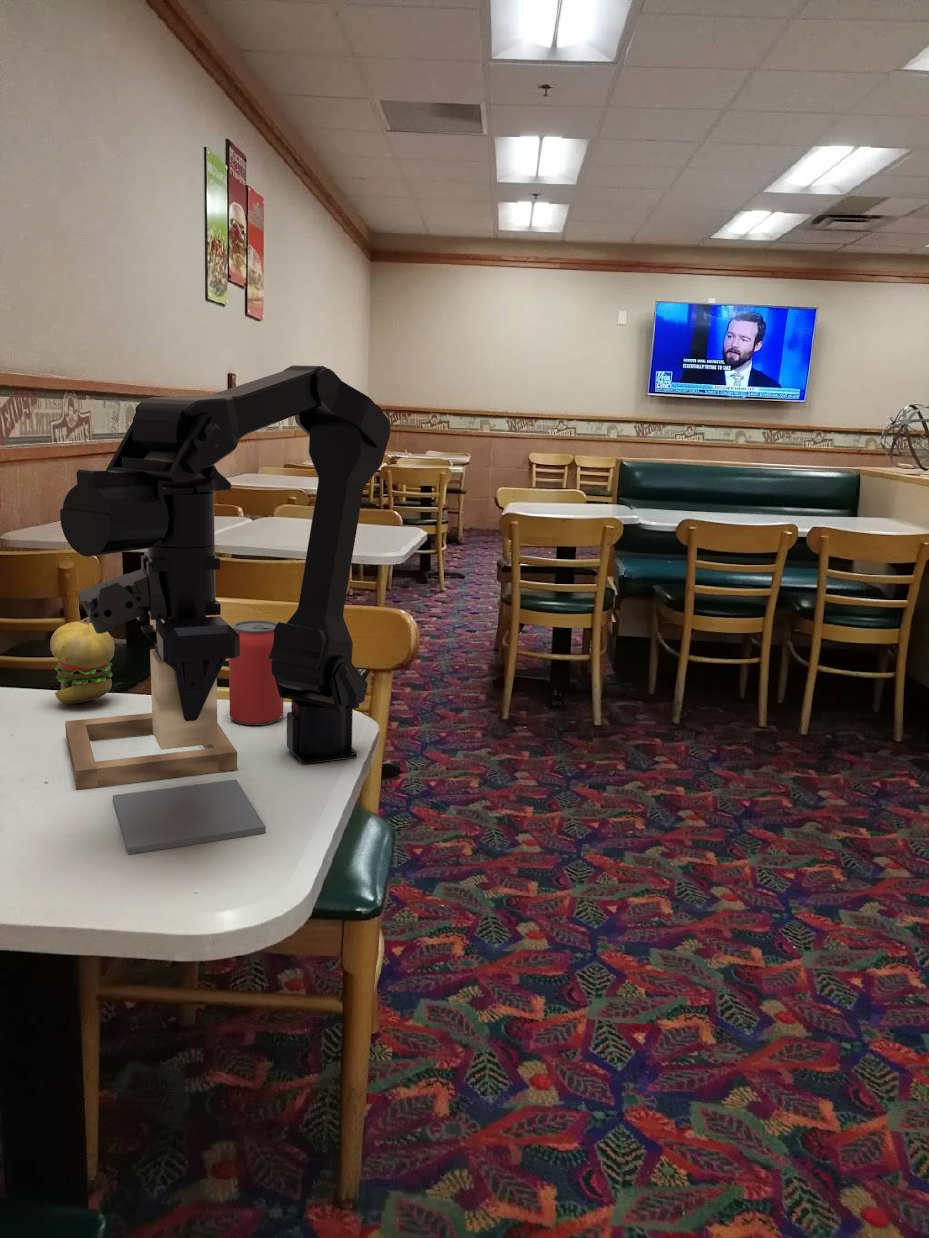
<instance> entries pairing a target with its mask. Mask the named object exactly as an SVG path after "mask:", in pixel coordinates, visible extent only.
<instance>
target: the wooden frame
mask: <svg viewBox="0 0 929 1238" xmlns="http://www.w3.org/2000/svg"><path fill="white" fill-rule="evenodd" d="M218 722H219V721H217V731H218V743H217V744H208V745H202V746H203V748H202V749H193V750H184V751H183V750H182V751H176V752H166V753H159V754H150V755H140V756H131V757H124V758H123V757H122V758H116V759H115V758H114V759H107V760H105V759H104V760H98V761H96V758H95V756H94V752H93V748H92V744H91V742H94V741H102V740H112V739H121V738H131V737H140V736H149V735H154V734H153V724H152V712H148V713H146V712H145V713H137V714H136V713H135V714H125V715H116V716H115V715H114V716H106V717H105V716H104V717H95V718H93V717H92V718H86V719H82V718H81V719H73V720H65V721H64V723H65V724H64V725H65V738H66V745H67V749H68V756H69V761H70V764H71V769H72V775H73V779H74V785H75V789H76V790H77V791H78V790H85V789H94V788H101V787H109V786H117V785H125V784H134V783H142V782H148V781H149V782H151V781H157V780H164V779H165V780H166V779H172V778H173V779H175V778H182V777H189V776H198V775H204V774H212V773H220V772H221V773H222V772H228V771H229V772H230V771H237V770H238V751H237V750H236V748H235V747H234V745H233V744H232V742H231V740H230V739H229V738H228V736H227V734H226V733H225V732H224V730H223V727H221V725H220V724H219V723H218Z"/></svg>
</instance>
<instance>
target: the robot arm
mask: <svg viewBox="0 0 929 1238" xmlns="http://www.w3.org/2000/svg"><path fill="white" fill-rule="evenodd" d="M134 411H135V413H134V415H133V418H132V422H131V424H130V425H129V427H128V429H127V431H126V432H125V435H124V437H123V438H122V440H121V442H120V444H119V446H118V447H117V449H116V451H115V452H114V454H113V456H112V457H111V460H110V462H109V463H108V465H107V467H106V470H102V469H100V470H99V469H92V468H85V469H84V468H83V469H81V468H79V469H77V471H76V485H74V486H73V487H72V488H70V490H69V491H68V492H67V493H66V496H65V498H64V500H63V503H62V504H63V505H62V508H61V509H60V510H59V516H60V517H59V520H60V525H61V529H62V533H63V535H64V537H65V540H66V541H67V544H69V546H70V547H71V548H72V550H74V551H75V552H76V553H77V554H80V555H82V556H83V557H89V558H90V557H96V556H102V555H109V554H119V553H124V552H125V553H126V552H131V551H132V552H133V551H139V550H140V551H141V550H145V549H146V550H147V551H144V553H143V554H144V555H141V556H140V562H141V563H140V566H141V568H140V569H137V570H135V571H132V572H130V573H129V572H128V573H125V574H121V575H119V576H116V577H113V578H110V579H109V580H106V581H103V582H101V583H98V584H95V585H93V586H90V587H88V588H85V589H83V590H81V591H80V592H79V593H78V596H79V598H80V601H81V602H82V606H83V607H84V610H85V612H86V614H87V617H89V619H90V623H92V625H93V627H94V629H95V632H96V633H97V634H101V633H105V632H108V633H109V632H111V631H112V630H114V629H115V627H116V626H117V627H118V626H119V625H122V624H124V623H128V622H130V621H132V620H135V619H137V621H138V622H143V621H144V622H145V621H146V618H147V616H149V624H145V625H141V626H140V629H141V631H142V632H143V634H144V635H145V636H146V637H147V638H148V639H149V640H151V641H152V643H154V644H155V645H157V648H155V649H156V650H155V652H156V654H157V655H158V657H159V658H160V660H162V661H163V662H165V663H166V664H168V665H169V666H170V667H171V668H173V671H174V675H175V680H176V685H177V689H178V694H179V699H180V704H181V708H182V712H183V717H184V720H185V721H195V720H197V719H198V717H199V715H200V712H201V710H202V708H203V706H204V704H205V701H206V699H207V697H208V695H209V693H210V690H211V688H212V686H213V684H214V682H215V680H216V678H217V677H218V675H219V674H220V672H221V670H222V669H223V666H224V664H225V662H226V660H227V659H228V660H229V658H236V657H238V656H240V635H239V634H238V633H237V632H236V631H235V630H234V628H233V625H232V626H231V624H230V623H228V622H227V621H226V620H225V619H224V618H223V617H222V616H221V615H222V614H221V613H222V612H221V609H222V608H221V602H220V601H218V600H217V599H216V598H217V597H216V596H217V595H216V594H217V593H216V571H217V570H218V571H219V570H221V558H220V557H219V556H217V554H216V543H215V539H216V538H215V537H216V536H215V535H216V534H215V492H227V491H230V490H232V483H231V482H230V481H229V480H228V479H227V478H226V477H225V476H224V475H222V474H221V473H220V472H219V470H218V469H217V467H216V465H215V464H217V463H219V462H220V461H222V460H223V459H224V458H226V457H227V456H228V455H230V454H231V453H233V452H234V451H236V449H237V447H238V444H239V442H240V440H241V439H242V438H244V437H246V436H247V435H249V434H251V433H254V432H256V431H259V430H261V429H264V428H267V427H269V426H271V425H274V424H276V423H279V422H282V421H284V420H286V419H289V418H293V417H294V420H295V423H296V425H297V426H298V427H299V428H300V429H301V430H303V432H304V433H306V434H307V435H308V436H309V437H308V438H309V439H308V455H309V457H310V460H311V462H312V465H313V468H314V470H315V473H316V476H317V479H318V480H317V487H316V494H315V499H314V505H313V511H312V517H311V518H312V519H311V525H310V532H309V537H308V542H307V543H308V544H307V549H306V554H305V555H306V556H305V562H304V568H303V572H302V580H301V585H300V593H299V599H298V602H297V603H298V605H297V608H296V610H295V611H294V612H293V614H292V615H291V616H290V617H289V619H288V620H287V621H286V622H282V621H278V622H276V623H277V625H276V627H275V629H274V641H273V646H272V650H271V653H270V655H269V659H272V663H271V671H272V675H273V676H274V677H275V681H276V685H277V688H278V692H279V695H280V698H283V700H284V699H288V700H291V711H288V712H287V713H286V748H288V750H289V751H290V752H291V753H292V754H293V755H294V756H295V758H296V759H297V760H298V761H299V762H300V763H301V764H312V763H321V762H329V761H336V760H338V761H339V760H344V759H352V758H353V759H355V758H357V757H358V752H357V751H356V750H355V749H354V747H353V713H354V712H353V710H355V709H356V710H357V709H358V708H360V704H362V703H364V702H365V699H366V695H367V689H368V682H367V681H366V679H365V678H364V677H363V675H362V674H361V673H360V672H359V670H358V669H357V668H356V666H355V665H354V663H352V661H353V649H354V648H353V647H354V646H353V645H354V643H353V640H352V637H351V634H350V632H349V629H348V626H347V623H346V621H345V619H344V609H345V604H346V598H347V592H348V585H349V579H350V573H351V569H352V568H351V565H352V562H353V555H354V548H355V543H356V536H357V529H358V524H359V518H360V511H361V507H362V499H363V493H364V489H365V486H366V485H367V484H368V483H369V481H371V479H372V478H373V477H374V475H375V474H376V473H377V471H379V469H380V468H381V467H382V465H383V461H384V457H385V455H386V454H385V453H386V449H387V445H388V443H389V440H390V436H391V425H390V421H389V419H388V417H387V416H386V414H385V413H384V411H383V410H382V407H380V406H379V405H378V404H377V403H375V402H374V400H372V398H371V397H369V396H368V395H367V394H364V393H363V392H361V391H359V389H356V388H355V387H352V386H351V385H349V384H348V383H346V382H344V381H343V380H342V379H341V378H340V377H339V376H338V375H337V373H335V371H333V370H332V369H331V368H328V367H326V366H324V365H295V364H294V365H291V366H289V367H286V368H285V369H284V370H282V371H279V372H276V373H274V374H270V375H267V376H264V377H262V378H257V379H254V380H251V381H249V382H246V383H243V384H240V385H237V386H234V387H231V388H227V389H225V390H221V391H218V392H215V393H212V394H204V395H197V394H196V395H170V396H157V397H156V396H155V397H148V398H146V399H144V400H141V401H140V402H139V403H138V404H137V405H136V406H135V409H134ZM219 615H220V616H219ZM217 679H218V678H217Z"/></svg>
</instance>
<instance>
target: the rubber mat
mask: <svg viewBox="0 0 929 1238" xmlns="http://www.w3.org/2000/svg"><path fill="white" fill-rule="evenodd" d="M111 796H112V803H113V806H114V810H115V814H116V818H117V821H118V825H119V829H120V832H121V836H122V838H123V843H124V846H125V850H126V854H127V855H128V856H129V855H133V854H134V855H135V854H139V853H140V854H141V853H145V852H147V853H149V852H153V851H158V850H165V849H172V848H173V849H174V848H178V847H185V846H186V847H187V846H191V845H197V844H204V843H210V842H216V841H217V842H218V841H222V840H223V841H224V840H229V839H235V838H241V837H248V836H249V837H250V836H255V835H262V834H266V833H267V826H266V825H265V823H264V821H263V820H262V818H261V817H260V815H259V814H258V812H257V810H256V809H255V807H254V805H253V804H252V802H251V800H250V799H249V797H248V796H247V794H246V793H245V791H244V789H243V788H242V786H241V784H240V783H239V781H238V780H237V779H236V778H235V779H227V780H220V781H214V782H213V781H212V782H206V783H205V782H203V783H197V784H189V785H188V784H187V785H181V786H174V787H172V786H171V787H166V788H160V789H159V788H158V789H151V790H143V791H137V792H135V791H133V792H128V793H127V792H126V793H121V794H119V793H118V794H112V795H111Z"/></svg>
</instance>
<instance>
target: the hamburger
mask: <svg viewBox="0 0 929 1238" xmlns="http://www.w3.org/2000/svg"><path fill="white" fill-rule="evenodd" d="M113 638H114V637H113V636H111V634H110V633H109V631H108V632H105V633H101V634H97V633H96V632H95V629H94V627H93V625H92V623H91V621H90V619H89V616H87V617H85V618H83V619H81V620H79V621H72V622H68V623H65V624H63V625H61V626H59V627H58V628H57V629H56V630H55V631H54V632H53V634H52V635H51V638H50V642H49V646H50V647H49V649H50V651H51V653H52V655H53V656H54V657H55V658H56V659H58V660H59V661H58V662H57V665H56V666H55V668H54V670H55V672H57V675H56V677H55V680H57V681H58V682H60V690H56V691H55V693H54V694H55V696H56V699H57V700H58V701H59V702H61V703H63V704H71V705H72V704H79V703H84V702H88V701H89V702H90V701H93V700H96V699H99V698H101V697H103V696H104V695H106V694H108V693H109V692H110V690H111V689H112V687H113V686H112V684H113V682H112V679H111V678H112V677H113V672H112V671H111V669H112V668H111V666H113V663H112V662H111V660H112V659H113V658H114V655H115V654H114V653H115V649H116V648H115V647H116V646H115V641H114V640H113ZM89 680H90V682H88V681H89ZM69 682H71V686H69V684H68V683H69Z"/></svg>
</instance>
